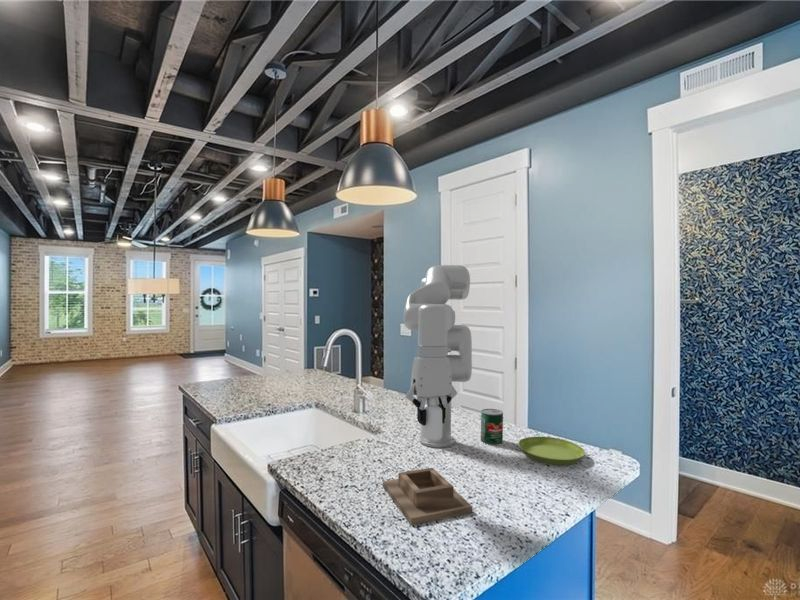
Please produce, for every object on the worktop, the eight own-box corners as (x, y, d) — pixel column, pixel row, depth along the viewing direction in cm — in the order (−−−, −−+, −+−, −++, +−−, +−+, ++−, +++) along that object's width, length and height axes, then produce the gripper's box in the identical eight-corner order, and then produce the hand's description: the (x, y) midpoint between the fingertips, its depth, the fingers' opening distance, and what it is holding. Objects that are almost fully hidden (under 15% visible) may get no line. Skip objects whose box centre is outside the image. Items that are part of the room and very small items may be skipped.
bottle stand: (382, 486, 109) (382, 468, 109) (435, 478, 115) (435, 460, 115) (410, 525, 91) (411, 502, 91) (472, 512, 97) (472, 491, 97)
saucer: (505, 449, 140) (505, 440, 140) (553, 442, 147) (553, 433, 147) (547, 473, 120) (547, 462, 121) (599, 464, 128) (599, 454, 128)
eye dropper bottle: (432, 433, 107) (432, 388, 107) (444, 439, 102) (444, 392, 102) (418, 435, 105) (418, 389, 105) (430, 442, 100) (430, 394, 100)
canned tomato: (493, 447, 141) (494, 415, 141) (476, 440, 147) (476, 410, 147) (507, 442, 146) (507, 412, 146) (489, 436, 152) (490, 407, 152)
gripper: (453, 349, 111) (452, 416, 110) (396, 351, 104) (395, 422, 104) (468, 353, 104) (467, 423, 103) (407, 355, 97) (406, 430, 97)
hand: (431, 422), depth 104 cm, fingers closed on eye dropper bottle, 4 cm apart
